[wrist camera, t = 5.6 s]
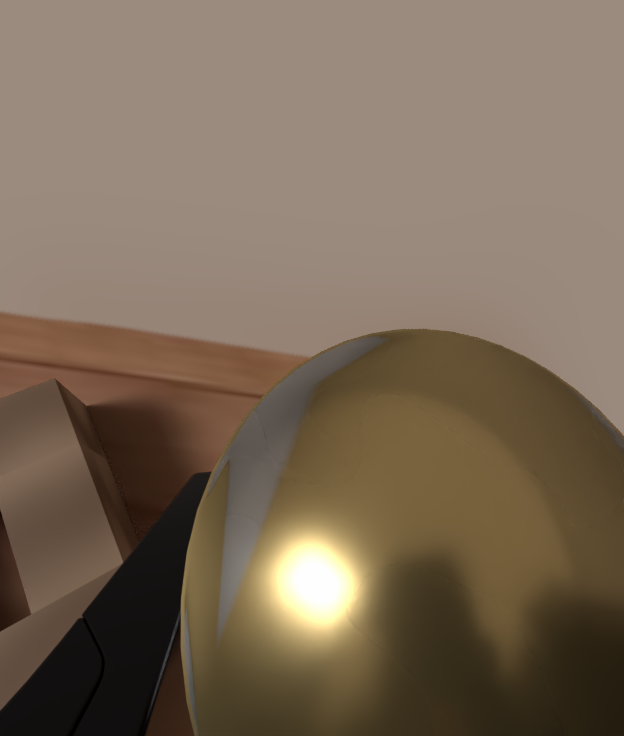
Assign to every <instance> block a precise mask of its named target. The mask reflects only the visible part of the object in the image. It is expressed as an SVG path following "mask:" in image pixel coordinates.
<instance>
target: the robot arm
mask: <svg viewBox="0 0 624 736" xmlns="http://www.w3.org/2000/svg"><path fill="white" fill-rule="evenodd" d="M211 473H212V472H203V473H195V474H194V475H193V476H192V477H191V478H190V479H189V481H188V482H187V483H186V484H185V486H184V487H183V488H182V489H181V491H180V492H179V493H178V494H177V496H176V497H175V498H174V499H173V501H172V502H171V503H170V504H169V506H168V507H167V508H166V509H165V511H164V512H163V513H162V514H161V516H160V517H159V518H158V520H157V521H156V522H155V523H154V525H153V526H152V527H151V528H150V530H149V531H148V532H147V533H146V535H145V536H144V537H143V538H142V540H141V541H140V542H139V543H138V545H137V546H136V547H135V548H134V550H133V551H132V552H131V553H130V555H129V556H128V557H127V558H126V560H125V561H124V562H123V563H122V565H121V566H120V567H119V568H118V570H117V571H116V572H115V573H114V575H113V576H112V577H111V578H110V580H109V581H108V582H107V583H106V585H105V586H104V587H103V588H102V590H101V591H100V592H99V593H98V595H97V596H96V597H95V598H94V600H93V601H92V602H91V603H90V605H89V606H88V607H87V608H86V610H85V611H84V612H83V614H82V618H79V619H77V620H76V622H75V623H74V624H73V626H72V627H71V628H70V629H69V631H68V632H67V633H66V634H65V636H64V637H63V638H62V639H61V641H60V642H59V643H58V644H57V645H56V647H55V648H54V649H53V650H52V651H51V653H50V654H49V655H48V656H47V657H46V659H45V660H44V661H43V662H42V663H41V665H40V666H39V667H38V668H37V669H36V670H35V672H34V673H33V674H32V675H31V676H30V678H29V679H28V680H27V681H26V682H25V684H24V685H23V686H22V687H21V688H20V689H19V690H18V691H17V692H16V693H15V695H14V696H13V697H12V698H11V699H10V700H9V701H8V702H7V703H6V705H5V706H4V707H3V708H2V709H1V710H0V736H194V732H193V727H192V723H191V719H190V714H189V710H188V706H187V701H186V692H185V683H184V674H183V665H182V656H181V595H182V587H183V579H184V571H185V563H186V555H187V550H188V546H189V542H190V538H191V533H192V529H193V525H194V521H195V517H196V513H197V510H198V507H199V504H200V502H201V499H202V496H203V494H204V491H205V489H206V486H207V483H208V481H209V478H210V475H211Z"/></svg>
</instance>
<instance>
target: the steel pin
mask: <svg viewBox="0 0 624 736" xmlns="http://www.w3.org/2000/svg"><path fill="white" fill-rule="evenodd" d="M181 656H182V665H183V674H184V683H185V692H186V701H187V706H188V710H189V714H190V719H191V723H192V727H193V732H194V736H624V436H623V435H622V433H621V432H620V431H619V430H618V429H617V428H616V427H615V426H614V425H613V424H612V423H611V422H610V421H609V420H608V419H607V418H606V417H605V415H603V413H602V412H601V411H600V410H599V409H598V408H596V407H595V406H594V405H593V404H592V403H591V402H590V401H588V400H587V399H586V398H585V397H584V396H583V395H582V394H580V393H579V392H578V391H577V390H576V389H574V388H573V387H572V386H570V385H569V384H568V383H566V382H565V381H563V380H562V379H560V378H559V377H558V376H557V375H555V374H554V373H552V372H551V371H549V370H547V369H546V368H544V367H542V366H541V365H539V364H537V363H536V362H534V361H532V360H530V359H529V358H527V357H525V356H523V355H520V354H518V353H516V352H514V351H512V350H510V349H507V348H505V347H503V346H501V345H498V344H494V343H492V342H489V341H486V340H483V339H480V338H477V337H472V336H468V335H464V334H459V333H455V332H449V331H439V330H428V329H400V330H391V331H385V332H379V333H372V334H368V335H365V336H361V337H358V338H354V339H351V340H347V341H345V342H342V343H340V344H338V345H336V346H333V347H331V348H329V349H327V350H324V351H322V352H320V353H318V354H316V355H315V356H313V357H312V358H310V359H308V360H307V361H305V362H303V363H302V364H300V365H299V366H297V367H295V368H294V369H293V370H292V371H290V372H289V373H288V374H287V375H286V376H284V377H283V378H282V379H281V380H280V381H278V382H277V383H276V384H275V385H273V386H272V387H271V388H270V389H269V390H268V391H267V392H266V394H265V395H264V396H263V397H262V398H261V399H260V400H259V401H258V402H257V403H256V404H255V405H254V406H253V408H252V409H251V410H250V411H249V412H248V414H247V415H246V416H245V418H244V419H243V421H242V422H241V423H240V425H239V426H238V428H237V429H236V431H235V432H234V433H233V435H232V436H231V438H230V439H229V441H228V443H227V444H226V446H225V448H224V450H223V452H222V454H221V456H220V458H219V460H218V461H217V463H216V465H215V467H214V469H213V471H212V473H211V475H210V478H209V481H208V483H207V486H206V489H205V491H204V494H203V496H202V499H201V502H200V504H199V507H198V510H197V513H196V517H195V521H194V525H193V529H192V533H191V538H190V542H189V546H188V550H187V555H186V563H185V571H184V579H183V587H182V595H181Z"/></svg>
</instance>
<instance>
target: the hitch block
mask: <svg viewBox="0 0 624 736" xmlns="http://www.w3.org/2000/svg"><path fill="white" fill-rule="evenodd" d="M0 510H1V514H2V517H3V520H4V524H5V527H6V531H7V534H8V537H9V541H10V544H11V548H12V551H13V554H14V558H15V561H16V564H17V568H18V571H19V575H20V578H21V581H22V585H23V588H24V592H25V595H26V598H27V602H28V605H29V609H30V612H31V615H29V616H28V617H26V618H24V619H22V620H20V621H19V622H17V623H15V624H13V625H11V626H10V627H8V628H6V629H4V630H2V631H1V632H0V710H1V709H2V708H3V707H4V706H5V705H6V703H7V702H8V701H9V700H10V699H11V698H12V697H13V696H14V695H15V693H16V692H17V691H18V690H19V689H20V688H21V687H22V686H23V685H24V684H25V682H26V681H27V680H28V679H29V678H30V676H31V675H32V674H33V673H34V672H35V670H36V669H37V668H38V667H39V666H40V665H41V663H42V662H43V661H44V660H45V659H46V657H47V656H48V655H49V654H50V653H51V651H52V650H53V649H54V648H55V647H56V645H57V644H58V643H59V642H60V641H61V639H62V638H63V637H64V636H65V634H66V633H67V632H68V631H69V629H70V628H71V627H72V626H73V624H74V623H75V622H76V620H77V619H79V618H82V614H83V612H84V611H85V610H86V608H87V607H88V606H89V605H90V603H91V602H92V601H93V600H94V598H95V597H96V596H97V595H98V593H99V592H100V591H101V590H102V588H103V587H104V586H105V585H106V583H107V582H108V581H109V580H110V578H111V577H112V576H113V575H114V573H115V572H116V571H117V570H118V568H119V567H120V566H121V565H122V563H123V562H124V561H125V560H126V558H127V557H128V556H129V555H130V553H131V552H132V551H133V550H134V548H135V547H136V546H137V545H138V543H139V541H138V538H137V535H136V533H135V530H134V528H133V525H132V523H131V520H130V517H129V515H128V512H127V510H126V507H125V505H124V502H123V500H122V497H121V494H120V492H119V489H118V487H117V484H116V482H115V479H114V476H113V474H112V471H111V469H110V466H109V464H108V461H107V459H106V456H105V453H104V451H103V448H102V446H101V443H100V441H99V438H98V435H97V433H96V430H95V428H94V425H93V423H92V420H91V418H90V415H89V412H88V410H87V407H86V405H85V404H83V403H82V402H81V401H80V400H79V399H78V398H77V397H75V396H74V395H73V394H72V393H71V392H70V391H69V390H68V389H66V388H65V387H64V386H63V385H62V384H61V383H60V382H58V381H57V380H56V379H55V378H54V379H51V380H49V381H46V382H43V383H41V384H38V385H35V386H33V387H30V388H27V389H25V390H22V391H19V392H17V393H14V394H11V395H9V396H6V397H3V398H1V399H0Z"/></svg>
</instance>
